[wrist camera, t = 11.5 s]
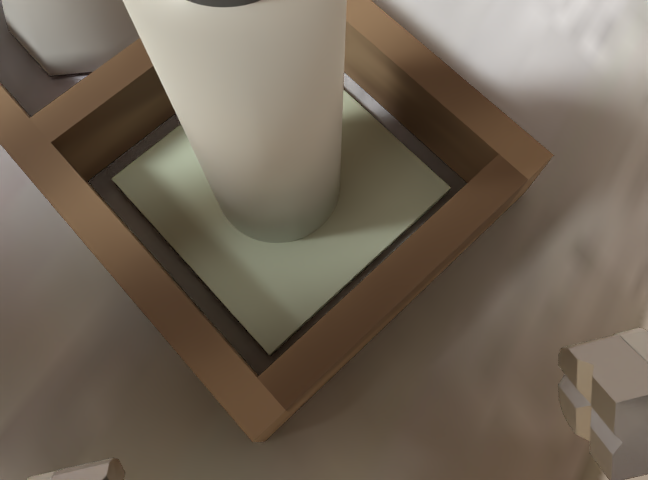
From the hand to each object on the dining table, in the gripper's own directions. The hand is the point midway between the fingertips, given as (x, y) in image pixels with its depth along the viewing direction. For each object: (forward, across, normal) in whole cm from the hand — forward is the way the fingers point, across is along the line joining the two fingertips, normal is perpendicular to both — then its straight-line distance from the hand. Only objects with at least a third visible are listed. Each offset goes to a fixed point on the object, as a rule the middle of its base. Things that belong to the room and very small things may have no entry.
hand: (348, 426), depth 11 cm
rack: (+16, +3, -4) cm, 16 cm away
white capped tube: (+12, 0, 0) cm, 12 cm away
